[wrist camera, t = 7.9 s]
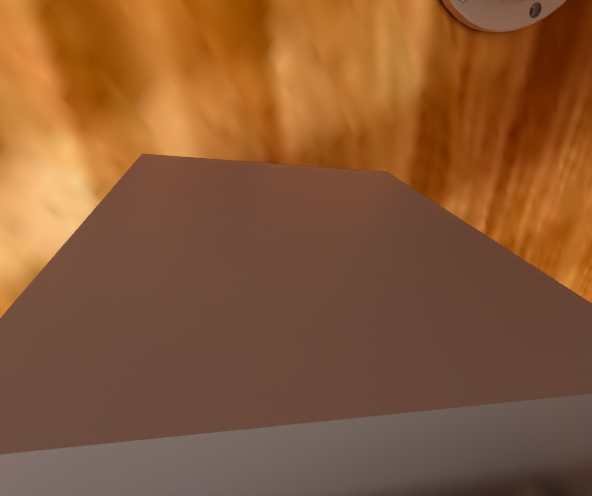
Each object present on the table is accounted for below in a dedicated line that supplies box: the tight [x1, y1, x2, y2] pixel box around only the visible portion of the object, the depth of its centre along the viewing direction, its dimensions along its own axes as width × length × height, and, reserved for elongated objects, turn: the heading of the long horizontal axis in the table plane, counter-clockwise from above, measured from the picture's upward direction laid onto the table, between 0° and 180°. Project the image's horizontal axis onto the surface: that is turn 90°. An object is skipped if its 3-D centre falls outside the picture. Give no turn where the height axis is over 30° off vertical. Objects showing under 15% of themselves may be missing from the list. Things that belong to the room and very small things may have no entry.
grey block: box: [0, 154, 592, 496], centre depth 9 cm, size 8×8×9 cm
